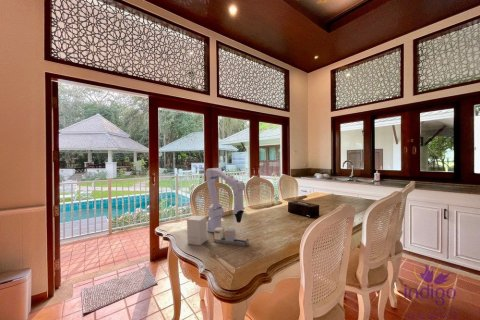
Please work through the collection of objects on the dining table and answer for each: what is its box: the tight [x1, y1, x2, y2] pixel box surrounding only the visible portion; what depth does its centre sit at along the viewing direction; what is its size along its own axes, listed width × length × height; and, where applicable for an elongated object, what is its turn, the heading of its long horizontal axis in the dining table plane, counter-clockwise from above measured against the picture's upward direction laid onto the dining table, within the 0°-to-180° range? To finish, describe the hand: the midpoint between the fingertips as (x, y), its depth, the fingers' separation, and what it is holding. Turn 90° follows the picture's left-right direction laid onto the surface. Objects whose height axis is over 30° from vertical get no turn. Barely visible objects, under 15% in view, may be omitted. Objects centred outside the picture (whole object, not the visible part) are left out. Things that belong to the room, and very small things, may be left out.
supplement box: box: [186, 215, 208, 246], centre depth 128 cm, size 9×9×15 cm
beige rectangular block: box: [213, 227, 224, 240], centre depth 127 cm, size 4×4×6 cm
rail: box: [213, 237, 250, 248], centre depth 125 cm, size 21×4×3 cm, turn 71°
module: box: [224, 228, 237, 241], centre depth 125 cm, size 5×4×6 cm
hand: (238, 222), depth 132 cm, fingers closed
